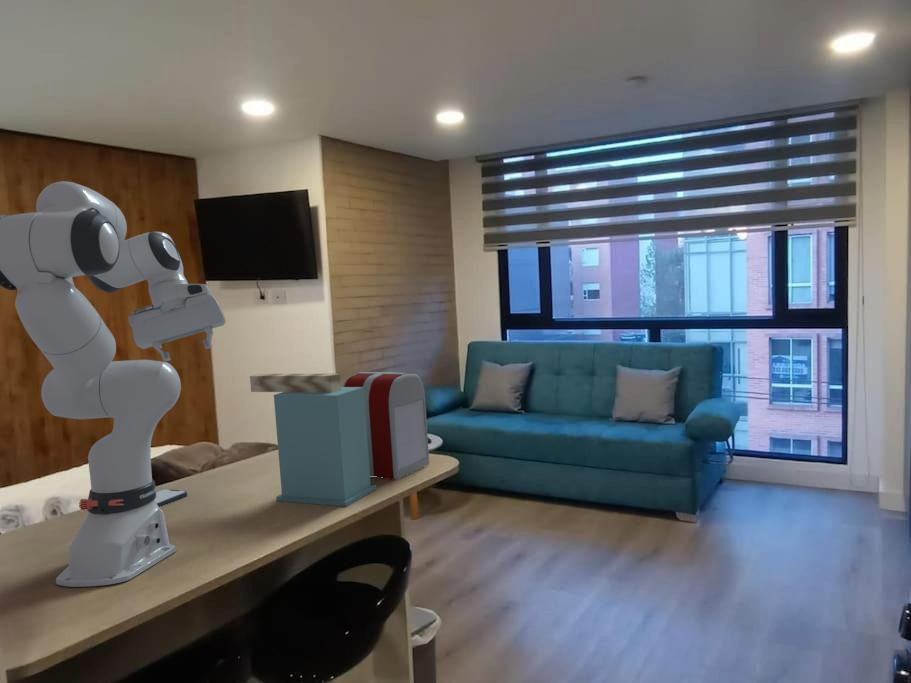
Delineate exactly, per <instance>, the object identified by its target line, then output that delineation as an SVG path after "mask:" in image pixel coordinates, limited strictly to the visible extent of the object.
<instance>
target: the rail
mask: <svg viewBox="0 0 911 683" xmlns="http://www.w3.org/2000/svg"><path fill="white" fill-rule="evenodd" d="M249 381H250V392H251V393H282V392H335V391H339V390H341V387H342V386H341V384H342V383H341V373H258V374H257V373H256V374H253V375H249Z"/></svg>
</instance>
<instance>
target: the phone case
mask: <svg viewBox="0 0 911 683" xmlns="http://www.w3.org/2000/svg"><path fill="white" fill-rule="evenodd" d="M187 497H188V491H187V490H178V489H170V488H169V489H168V488H165V489H161V490H159V491H156V498H155V501H156V503H157V505H158V506H159V508H161V507H163V505H164V506H166V505H165V504H167V505H169V504H171V502H172V503H174V502H177V501H179V500H181V499H184V498H187ZM168 503H169V504H168ZM160 506H161V507H160Z"/></svg>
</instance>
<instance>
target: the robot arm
mask: <svg viewBox="0 0 911 683" xmlns="http://www.w3.org/2000/svg"><path fill="white" fill-rule="evenodd" d="M35 208H36V212H33V211H32V212H25V213H18V214H11V215H9V214H0V287H2V288H3V289H5V290H9V291H16V290H17V293H16V294H17V295H16V297H15V303H14V304H15V309H16V313H17V315H18V317H19V320H20V322H21V323H22V326H23V328H24V329H25V331H26V332H27V334H28V336H29V338H30V339H31V340H32V341H33V343H34V344H35V345H36V347H37V348H38V350H40V352H42V354H43V356H45V359H47V361H48V362H49V363H50V364H51V367H53V369H52V370H51V371H49V373H48V374H47V375H46V376H45V378H44V380H43V383H42V385H41V390H40V392H41V400H42V402H43V405H44V407H45V408H46V410H47V411H48V412H49V413H50V414H51V415H52V416H55V417H59V418H64V419H65V418H66V419H75V420H87V419H88V420H90V419H92V420H93V419H104V418H105V419H106V418H107V419H108V418H113V427H112V431H111V432H110V433H109V434H107V435H105V436H103V437H101V438H100V439H99V440H97V441H96V442H95V443H94V444H92V446H91V448H90V450H89V452H88V454H87V455H88V456H87V460H88V468H89V469H88V471H89V478H90V481H89V482H90V487H91V488H90V490H89V494H88V497H87V498H81V499H80V500H79V503H78V507H79V509H80V511H85V510H86V511H87V515H86V517H85V519H84V520H83V523H82V524H81V526H80V528H79V530H78V531H77V533H76V535H75V536H74V539H73V540H72V542H71V544H70V546H69V552H68V562H69V563H68V565H67V567H66V568H65V569H63V571H62V572H61V573H60V574H58V576H57V577H56V578H55V584H56V585H58V586H63V587H73V588H74V587H75V588H78V587H79V588H80V587H83V588H84V587H85V588H86V587H99V586H108V585H114V584H115V585H116V584H119V583H124V582H127V581H129V580H131V579H133V578H135V577H136V576H138V575H139V574H141V573H143V572H144V571H146V570H148V569H149V568H151V567H153V566H155V565H156V564H158V563H160V562H161V561H162V560H164V559H166V558H167V557H169V556H171V555H172V554H174V553H175V552H177V550H176V546H175V545H174V544H172V543H170V540H169V539H170V538H169V535H168V529H167V523H166V519H165V518H166V517H165V512H164V511H163V510H162V509H161V507H159V506H158V505H157V503H156V501H155V498H156V492H157V486H156V481H155V480H154V479H153V477H152V476H153V473H152V458H151V457H152V455H151V452H152V450H151V449H152V448H151V447H152V446H151V445H152V438H153V435H154V432H155V430H156V427H157V425H158V423H159V422H160V420H161V419H162V418H163V417H164V416H165V414H166V413H167V412H169V411H170V410H171V409H172V408H173V407H174V406H175V405H176V403H177V402H178V400H179V398H180V395H181V391H182V384H181V379H180V378H181V377H180V376H179V373H178V372H177V370H176V369H175V367H174V366H173V365H171V363H169V361H172V358H171V354H170V353H169V352H168V351H163V350H162V349H163V345H162V344H165V343H169V342H172V341H175V340H179V339H182V338H186V337H189V336H193V335H195V334H199V333H203V332H205V334H206V338H205V339H203V340H202V343H203V346H204V348H205V350H208V349H211V348H213V345H212V338H213V335H214V331H213V330H214V329H216V328H218V327H222V326H225V324H226V322H227V321H226V320H227V319H226V317H225V314H224V312H223V309H222V307H221V306H220V303H219V302H218V300H217V299H216V298H215V296H214V295H213V293H212V291H211V288H210V287H209V286H207V284H204V283H189V282H188V280H187V278H186V277H185V274H184V265H183V261H182V259H181V256H180V253H179V251H178V248H177V246H176V244H175V242H174V240H173V239H172V237H171V236H170V235H169V234H168V233H166V232H162V231H150V232H145V233H142V234H138V235H135V236H132V237H130V238H127V239H126V236H127V231H128V229H127V228H128V226H127V221H126V218H125V215H124V214H123V212H122V210H121V209H120V208H119V207H118V206H117V205H116V204H115V203H114V202H113V201H111V200H110V199H108V198H107V197H105V196H104V195H103V194H101V193H99V192H98V191H95V190H94V189H91V188H90V187H88V186H84V185H82V184H80V183H79V184H78V183H76V182H72V181H65V180H63V181H57V182H53V183H51V184H48V185H47V186H46V187H44V188H43V190H42V191H41V192H40V193H39V195H38V197H37V199H36V204H35ZM82 276H86V277H87V278H88V279H89V280H90V282H91V283H92V284H93V286H94V287H95V288H96V289H98V290H100V291H103V292H104V293H108V294H114V293H116V292H118V291H120V290H122V289H125V288H128V287H129V286H132V285H134V284H138V283H141V282H142V281H147V284H148V294H149V296H150V301H151V305H147V306H144V307H142V308H138V309H137V308H136V309H134V310H133V311H132V312H131V313H130V314H129V315H128V323H129V327H130V328H131V330H132V335H133V340H134V344H135V345H136V346H137V347H139V348H141V349H142V350H146V349H149V348H154V349H155V350H156V351H157V352H158V353H159V354H160V355H161V359H162V361H159V360H152V359H132V360H115V361H113V360H114V358H115V356H116V352H117V344H116V339H115V337H114V335H113V333H112V332H111V330H110V329H109V327H108V326H107V325H106V323H105V322H104V320H103V319H102V317H101V316H100V314H99V312H98V311H97V310H96V308H95V307H94V306H93V305H92V304H93V303H91V302H90V301H89V299H88V298H87V297H86V296H85V295H84V294H83V293H82V292H81V291H80V290H79V289H78V288H77V287H76V286H75V283H74V279H73V278H74V277H75V278H76V277H82Z"/></svg>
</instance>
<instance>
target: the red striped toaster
mask: <svg viewBox="0 0 911 683" xmlns="http://www.w3.org/2000/svg"><path fill="white" fill-rule="evenodd" d="M342 387H364V399H365V413H366V427H367V441H368V456H369V470H370V476H377V477H383V478H389V479H388V480H392V479H393V480H394V479H397V480H399V478H400V479H402V478H404V477H406V476H408V475H407V474H409V475H411V474H413V473H415V472H417V471H416V470H418V469H420V468H422V467H424V466H426V465H428V464H429V465H430V455H429V437H428V422H427V407H426V406H427V405H426V392H425V387H424V382H422V379H421V378H420V376H419V375H418V374H416V373H408V372H395V371H393V372H392V371H382V372H381V371H380V372H379V371H373V372H372V371H360V372H356V374H352V375H350V376H348V377H347V378H346V379H345V381H344V383H343V385H342ZM426 467H427V466H426ZM424 468H425V467H424ZM422 469H423V468H422ZM420 470H421V469H420ZM414 471H415V472H414ZM418 471H419V470H418ZM412 472H413V473H412ZM410 473H411V474H410ZM405 475H406V476H405ZM403 476H404V477H403ZM401 477H402V478H401ZM383 478H382V479H383Z"/></svg>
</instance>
